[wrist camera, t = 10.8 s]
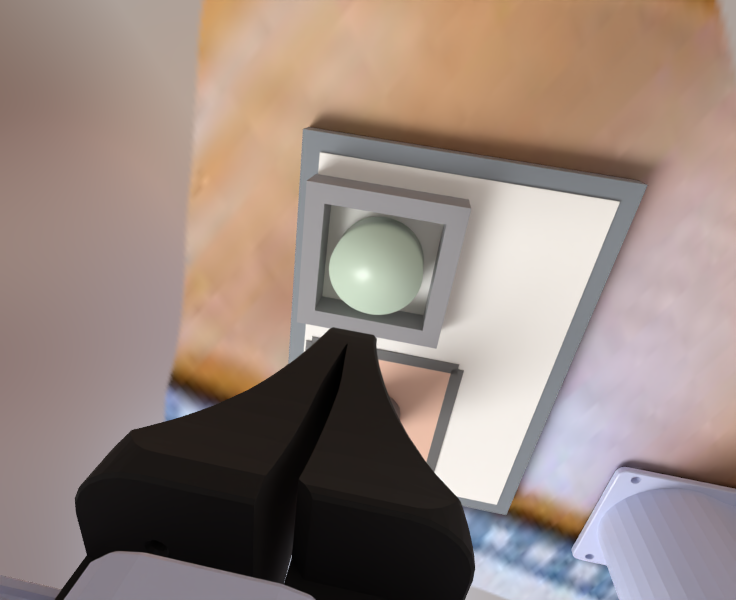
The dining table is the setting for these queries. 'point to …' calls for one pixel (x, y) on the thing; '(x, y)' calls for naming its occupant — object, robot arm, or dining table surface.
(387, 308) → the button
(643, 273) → the dining table surface
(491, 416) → the board
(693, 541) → the robot arm
